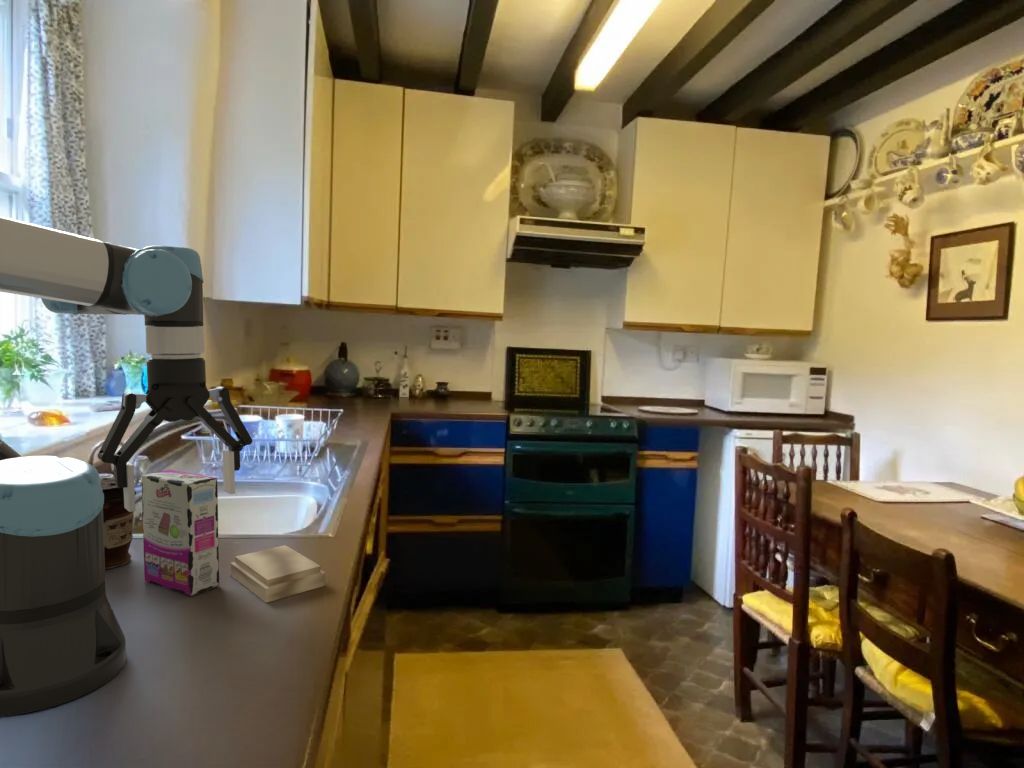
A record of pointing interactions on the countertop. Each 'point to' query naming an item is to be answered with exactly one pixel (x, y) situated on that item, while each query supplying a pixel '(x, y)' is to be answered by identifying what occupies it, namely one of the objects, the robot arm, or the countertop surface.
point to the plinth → (277, 573)
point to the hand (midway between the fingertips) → (182, 500)
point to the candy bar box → (180, 531)
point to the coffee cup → (116, 525)
